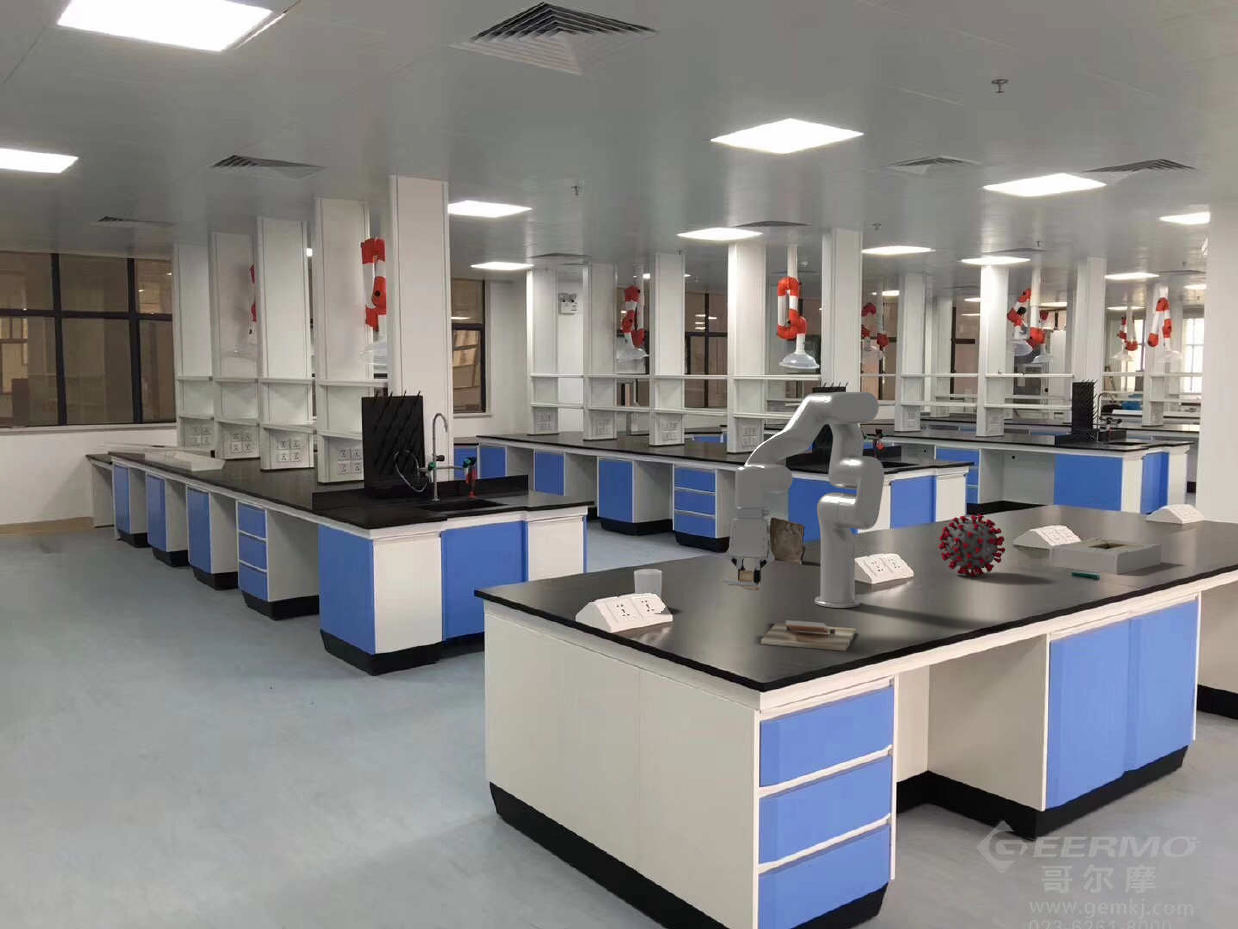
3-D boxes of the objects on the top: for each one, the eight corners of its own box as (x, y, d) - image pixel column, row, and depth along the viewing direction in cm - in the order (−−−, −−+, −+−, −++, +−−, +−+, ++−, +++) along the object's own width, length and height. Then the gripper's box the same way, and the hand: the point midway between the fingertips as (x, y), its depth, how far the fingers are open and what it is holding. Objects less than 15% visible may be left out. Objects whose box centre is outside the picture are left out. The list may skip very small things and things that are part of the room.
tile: (786, 620, 231) (785, 625, 231) (823, 623, 228) (823, 628, 228) (792, 625, 239) (792, 630, 239) (829, 628, 236) (828, 633, 236)
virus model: (1014, 581, 303) (1016, 518, 301) (949, 581, 303) (950, 519, 302) (991, 569, 323) (992, 510, 322) (930, 570, 324) (931, 511, 322)
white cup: (661, 603, 277) (660, 568, 276) (663, 609, 269) (663, 574, 268) (633, 603, 276) (633, 569, 276) (635, 609, 269) (634, 574, 268)
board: (776, 626, 248) (776, 618, 247) (855, 632, 241) (855, 624, 240) (760, 643, 231) (760, 634, 231) (845, 651, 224) (845, 641, 224)
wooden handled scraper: (739, 589, 257) (740, 574, 258) (769, 591, 254) (770, 576, 255) (722, 582, 240) (723, 566, 240) (754, 584, 237) (755, 568, 238)
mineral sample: (764, 559, 348) (765, 517, 347) (772, 558, 350) (772, 516, 349) (802, 565, 335) (802, 522, 334) (809, 563, 338) (809, 521, 337)
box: (1093, 556, 349) (1048, 566, 330) (1094, 535, 349) (1049, 544, 329) (1161, 566, 331) (1117, 577, 312) (1162, 544, 331) (1119, 553, 311)
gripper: (784, 513, 249) (783, 583, 250) (722, 511, 255) (722, 579, 256) (778, 516, 242) (777, 589, 243) (715, 514, 248) (715, 584, 249)
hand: (749, 583), depth 250 cm, fingers closed on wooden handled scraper, 3 cm apart
